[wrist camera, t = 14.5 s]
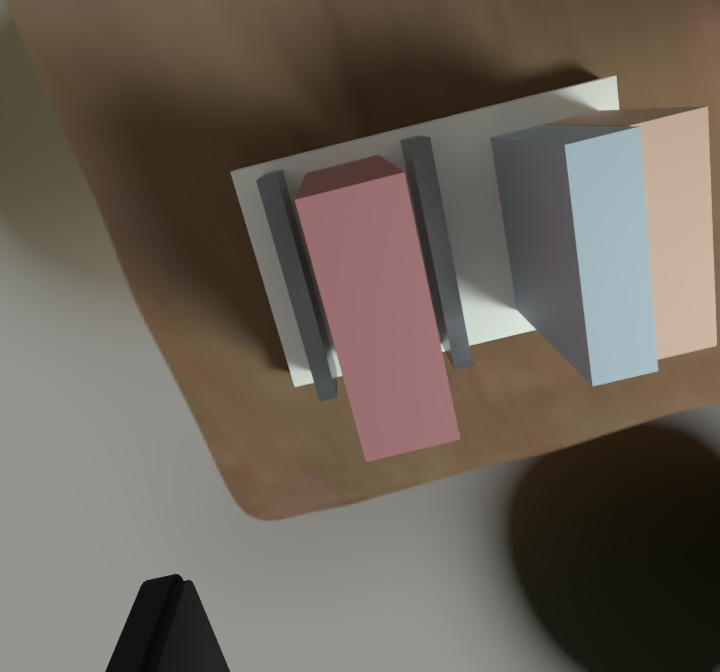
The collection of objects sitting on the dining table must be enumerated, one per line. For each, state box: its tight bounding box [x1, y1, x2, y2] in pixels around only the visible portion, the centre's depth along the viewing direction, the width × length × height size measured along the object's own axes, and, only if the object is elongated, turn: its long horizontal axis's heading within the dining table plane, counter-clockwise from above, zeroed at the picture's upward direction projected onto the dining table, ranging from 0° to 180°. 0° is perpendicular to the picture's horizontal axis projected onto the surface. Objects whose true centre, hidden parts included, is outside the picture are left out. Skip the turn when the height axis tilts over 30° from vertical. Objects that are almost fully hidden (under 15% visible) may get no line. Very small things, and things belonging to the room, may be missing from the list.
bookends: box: [256, 135, 473, 402], centre depth 33 cm, size 8×12×4 cm
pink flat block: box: [295, 154, 460, 462], centre depth 29 cm, size 4×11×12 cm, turn 14°
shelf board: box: [230, 76, 619, 387], centre depth 36 cm, size 21×13×2 cm, turn 103°
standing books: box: [490, 106, 717, 386], centre depth 29 cm, size 6×10×11 cm, turn 13°
